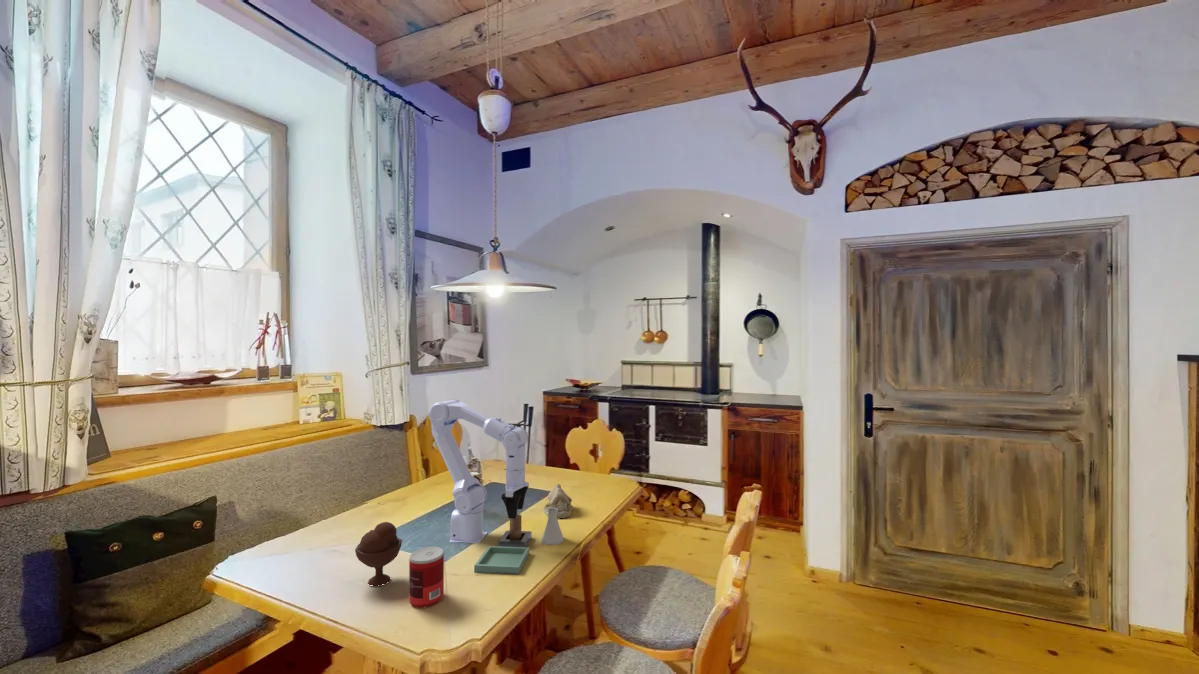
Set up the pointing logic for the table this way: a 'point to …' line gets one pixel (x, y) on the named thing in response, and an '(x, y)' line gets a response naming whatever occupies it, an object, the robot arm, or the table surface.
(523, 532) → the square metal dish
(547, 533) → the flask
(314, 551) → the table surface
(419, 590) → the canned food
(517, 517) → the pin
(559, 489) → the ceramic model
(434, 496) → the table surface
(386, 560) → the ice cream bowl
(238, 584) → the table surface
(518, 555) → the tray
